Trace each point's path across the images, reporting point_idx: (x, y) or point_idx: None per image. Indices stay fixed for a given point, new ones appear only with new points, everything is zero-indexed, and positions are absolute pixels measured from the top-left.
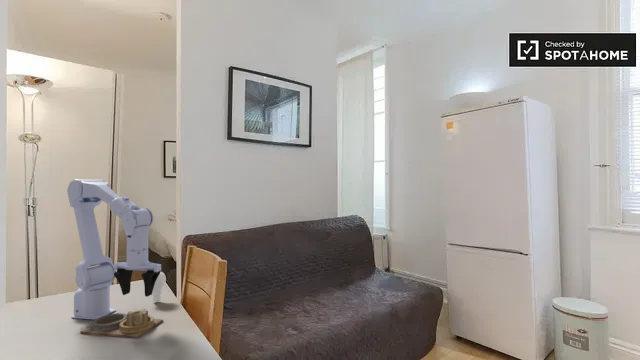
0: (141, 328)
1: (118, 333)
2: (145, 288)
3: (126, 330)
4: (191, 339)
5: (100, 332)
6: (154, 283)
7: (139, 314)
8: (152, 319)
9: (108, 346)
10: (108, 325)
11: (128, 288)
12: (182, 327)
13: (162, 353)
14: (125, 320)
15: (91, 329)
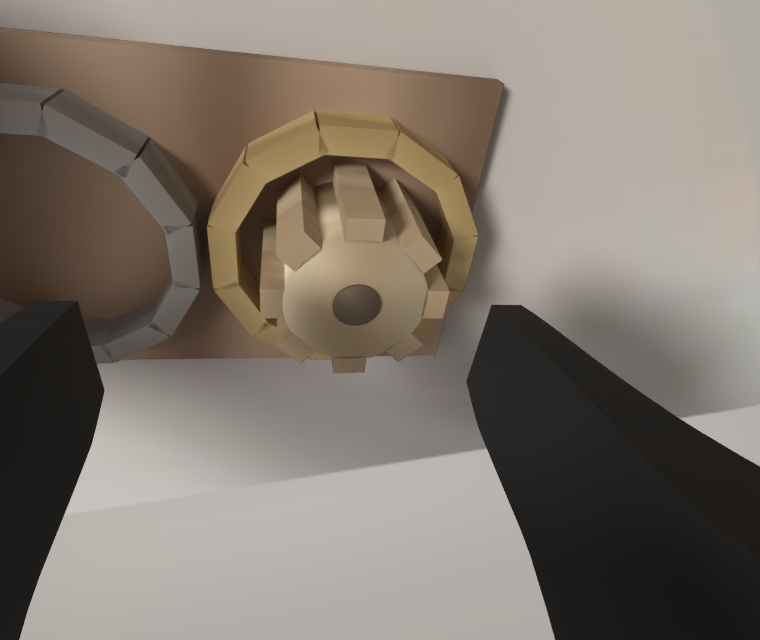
0: None
1: None
2: (523, 498)
3: None
4: (735, 314)
5: (145, 352)
6: (659, 422)
7: (409, 339)
8: (466, 220)
9: (332, 424)
10: (157, 338)
11: (50, 388)
12: (680, 179)
13: None
14: (229, 262)
15: None
